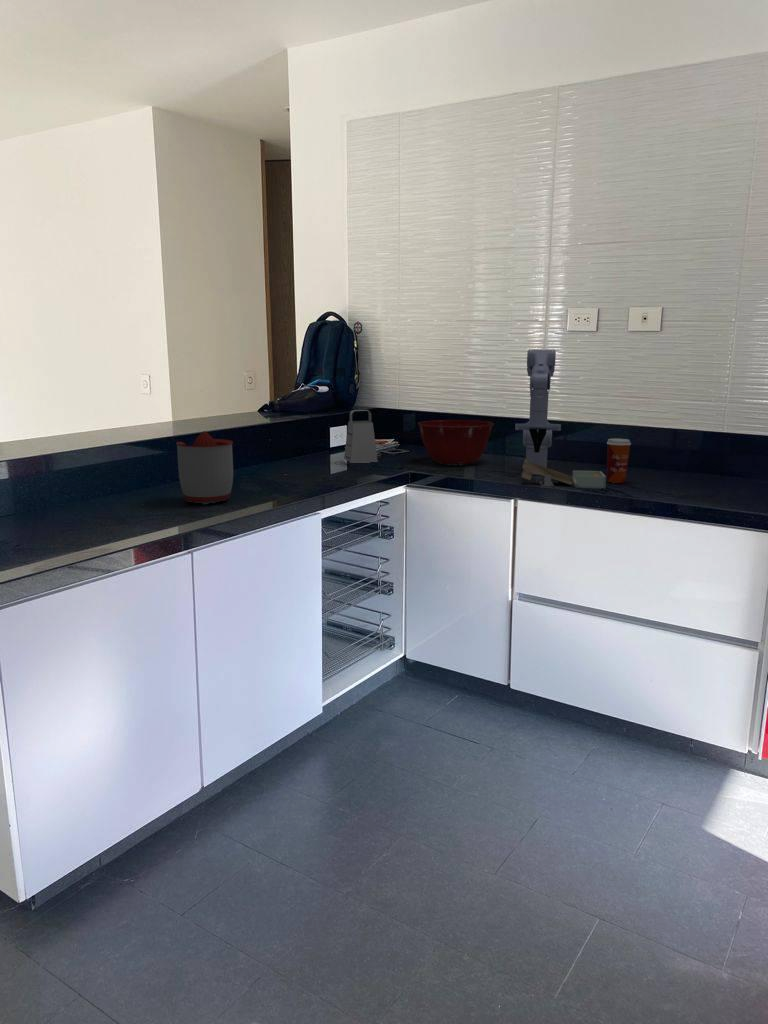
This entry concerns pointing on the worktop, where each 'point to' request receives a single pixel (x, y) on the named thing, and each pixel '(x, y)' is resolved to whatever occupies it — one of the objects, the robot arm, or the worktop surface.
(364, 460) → the grater
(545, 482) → the stand
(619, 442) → the paper cup
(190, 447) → the citrus juicer
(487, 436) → the mixing bowl
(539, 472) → the wooden ramp
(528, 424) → the robot arm
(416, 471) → the worktop surface
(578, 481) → the tray
